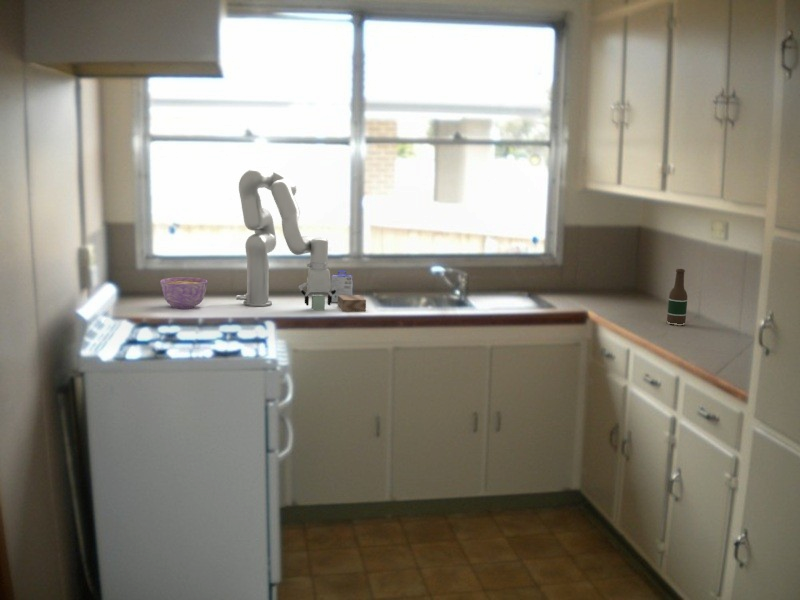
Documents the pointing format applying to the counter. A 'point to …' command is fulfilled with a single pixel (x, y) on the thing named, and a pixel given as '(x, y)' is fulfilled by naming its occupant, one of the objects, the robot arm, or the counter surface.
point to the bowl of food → (183, 291)
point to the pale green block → (318, 302)
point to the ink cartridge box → (342, 284)
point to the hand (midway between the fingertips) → (318, 305)
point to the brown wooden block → (351, 303)
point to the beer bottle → (677, 300)
